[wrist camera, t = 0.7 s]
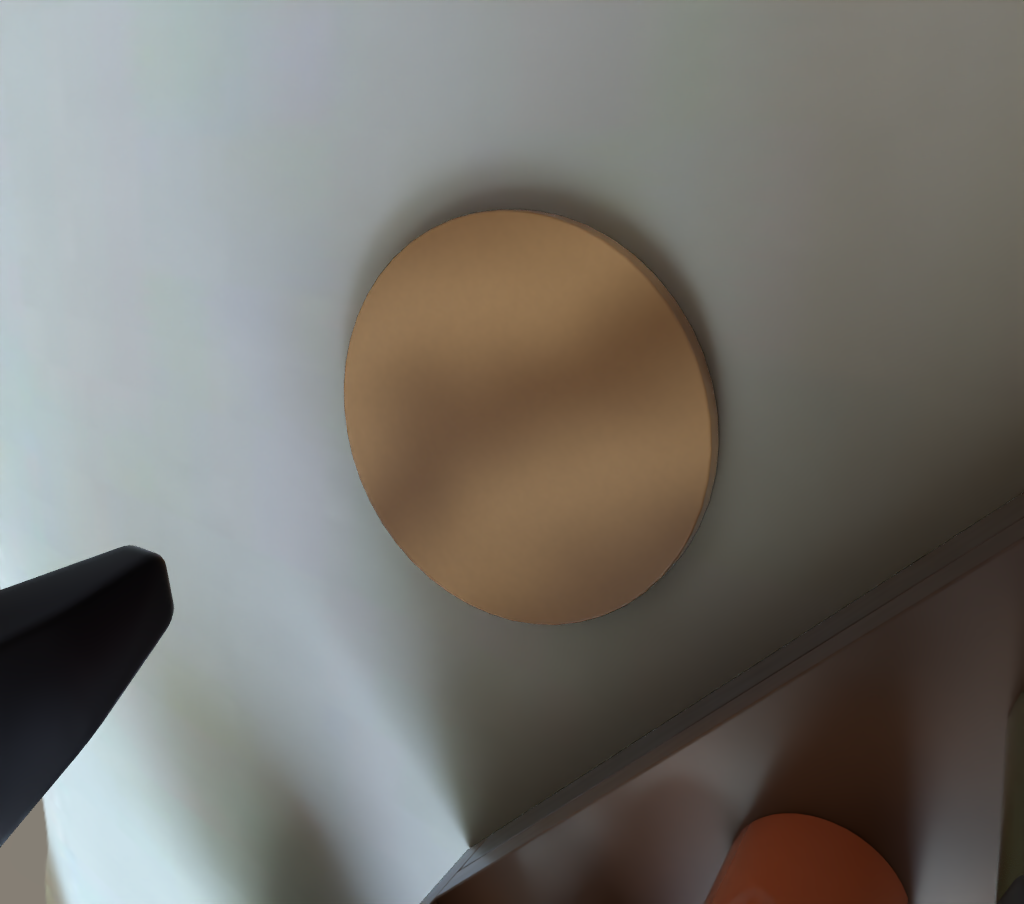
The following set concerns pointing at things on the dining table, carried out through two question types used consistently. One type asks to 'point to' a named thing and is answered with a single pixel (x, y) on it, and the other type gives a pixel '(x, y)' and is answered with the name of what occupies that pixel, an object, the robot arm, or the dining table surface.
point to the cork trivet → (531, 416)
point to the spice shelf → (806, 751)
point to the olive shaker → (1011, 804)
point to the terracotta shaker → (803, 866)
